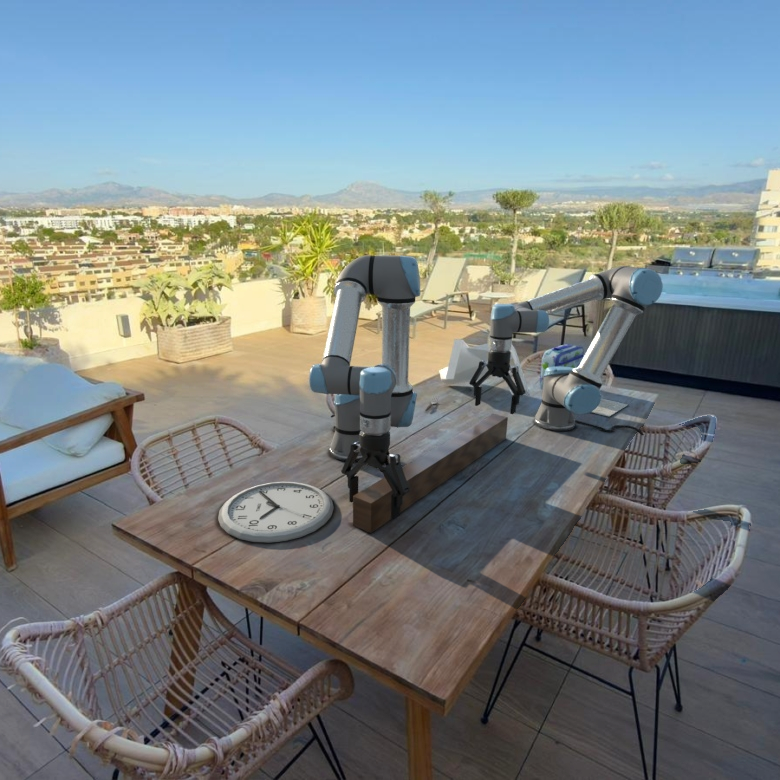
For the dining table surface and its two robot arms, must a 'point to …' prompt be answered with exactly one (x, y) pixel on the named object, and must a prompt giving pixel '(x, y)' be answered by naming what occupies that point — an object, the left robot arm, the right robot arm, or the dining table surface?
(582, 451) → the dining table surface
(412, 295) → the left robot arm
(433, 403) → the fork
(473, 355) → the white plastic object
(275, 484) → the wall clock
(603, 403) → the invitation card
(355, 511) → the bar
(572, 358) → the lunch box
